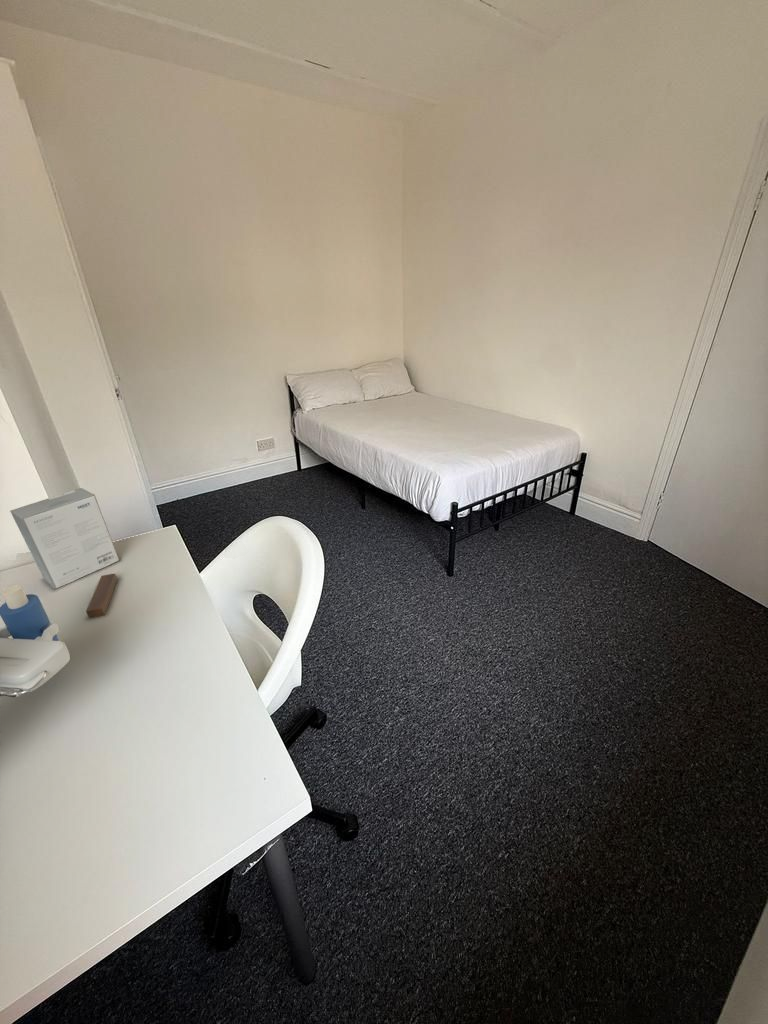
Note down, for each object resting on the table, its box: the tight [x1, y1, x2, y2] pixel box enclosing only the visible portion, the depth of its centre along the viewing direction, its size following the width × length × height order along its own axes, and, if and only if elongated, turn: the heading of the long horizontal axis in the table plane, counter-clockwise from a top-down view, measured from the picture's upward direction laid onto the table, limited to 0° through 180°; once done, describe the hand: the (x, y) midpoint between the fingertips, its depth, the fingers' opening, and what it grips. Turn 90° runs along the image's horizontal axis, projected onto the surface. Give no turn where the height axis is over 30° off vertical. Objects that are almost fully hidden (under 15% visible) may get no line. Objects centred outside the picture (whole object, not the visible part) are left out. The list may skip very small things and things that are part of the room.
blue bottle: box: [0, 584, 60, 641], centre depth 71 cm, size 5×5×17 cm
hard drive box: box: [9, 487, 120, 590], centre depth 104 cm, size 16×8×20 cm, turn 144°
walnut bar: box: [85, 573, 118, 619], centre depth 98 cm, size 3×14×2 cm, turn 20°
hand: (36, 625), depth 72 cm, fingers closed on blue bottle, 5 cm apart
